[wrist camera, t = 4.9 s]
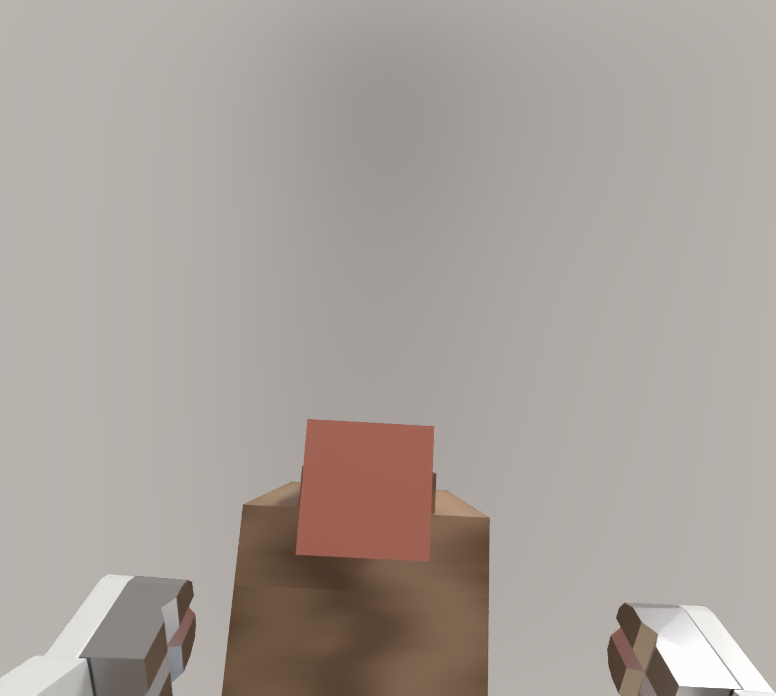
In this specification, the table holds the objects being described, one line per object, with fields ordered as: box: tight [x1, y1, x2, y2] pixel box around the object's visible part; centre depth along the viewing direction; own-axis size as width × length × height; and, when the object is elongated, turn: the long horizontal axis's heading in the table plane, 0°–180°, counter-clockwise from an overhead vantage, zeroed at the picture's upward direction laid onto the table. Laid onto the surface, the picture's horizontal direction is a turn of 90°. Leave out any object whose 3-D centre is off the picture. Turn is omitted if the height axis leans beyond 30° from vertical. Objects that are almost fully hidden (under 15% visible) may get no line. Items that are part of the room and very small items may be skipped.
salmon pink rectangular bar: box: [296, 419, 434, 561], centre depth 21 cm, size 20×3×3 cm, turn 2°
